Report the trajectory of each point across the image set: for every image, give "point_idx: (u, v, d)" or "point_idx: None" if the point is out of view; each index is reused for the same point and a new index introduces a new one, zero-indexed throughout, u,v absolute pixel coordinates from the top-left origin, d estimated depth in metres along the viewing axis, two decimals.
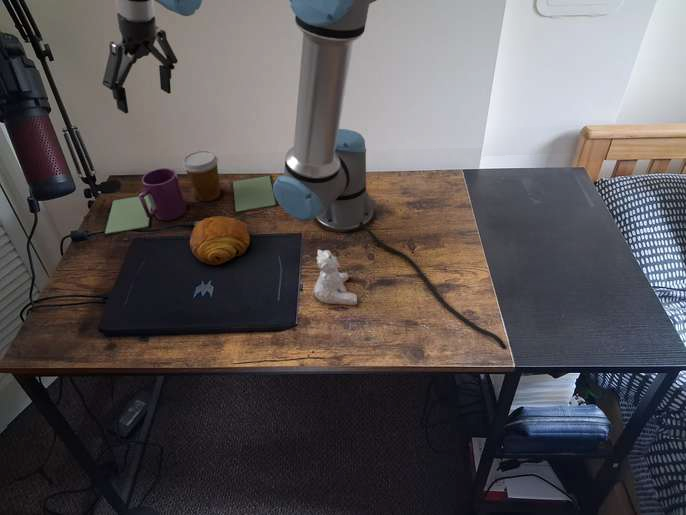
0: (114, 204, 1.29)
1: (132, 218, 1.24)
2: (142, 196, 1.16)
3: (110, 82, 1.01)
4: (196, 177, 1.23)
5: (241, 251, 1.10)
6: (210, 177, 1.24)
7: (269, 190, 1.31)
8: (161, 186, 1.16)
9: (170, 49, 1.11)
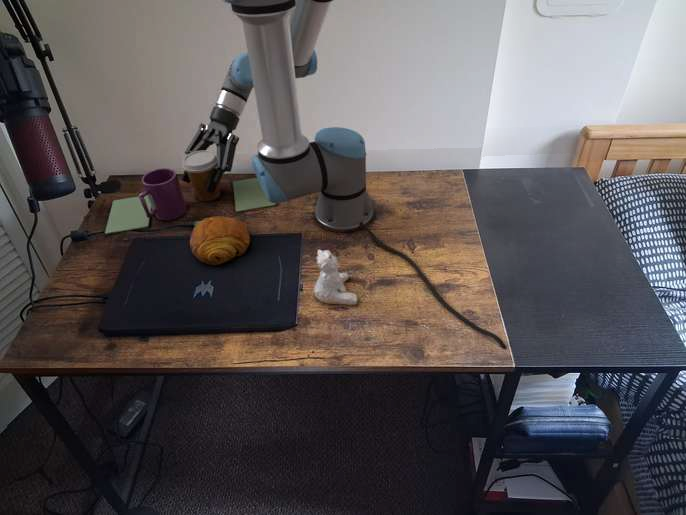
0: (114, 204, 1.29)
1: (132, 218, 1.24)
2: (142, 196, 1.16)
3: None
4: (196, 177, 1.23)
5: (241, 251, 1.10)
6: (209, 177, 1.24)
7: None
8: (161, 186, 1.16)
9: (227, 152, 1.22)
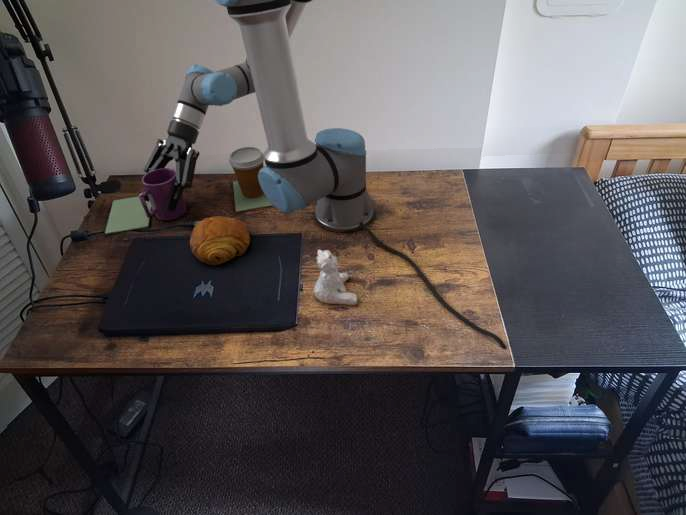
0: (114, 204, 1.29)
1: (132, 218, 1.24)
2: (142, 196, 1.16)
3: None
4: (244, 174, 1.23)
5: (241, 251, 1.10)
6: (256, 173, 1.23)
7: None
8: (161, 186, 1.16)
9: (186, 168, 1.17)
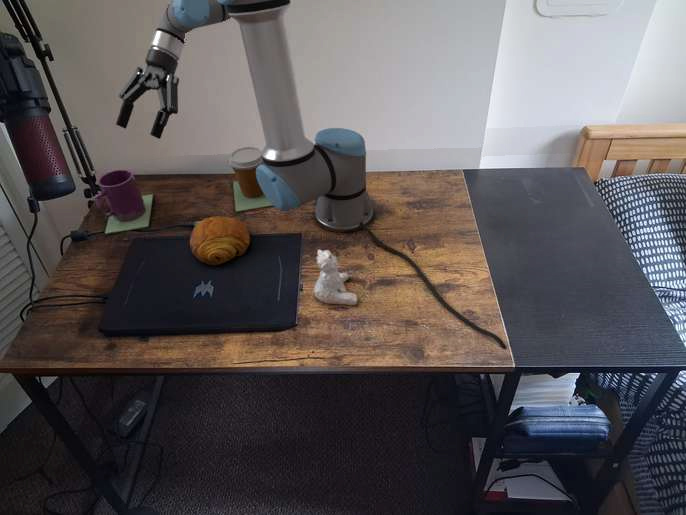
0: None
1: None
2: (97, 198, 1.16)
3: None
4: (244, 174, 1.23)
5: (241, 251, 1.10)
6: None
7: None
8: (117, 187, 1.16)
9: (169, 93, 1.15)
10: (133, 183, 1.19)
